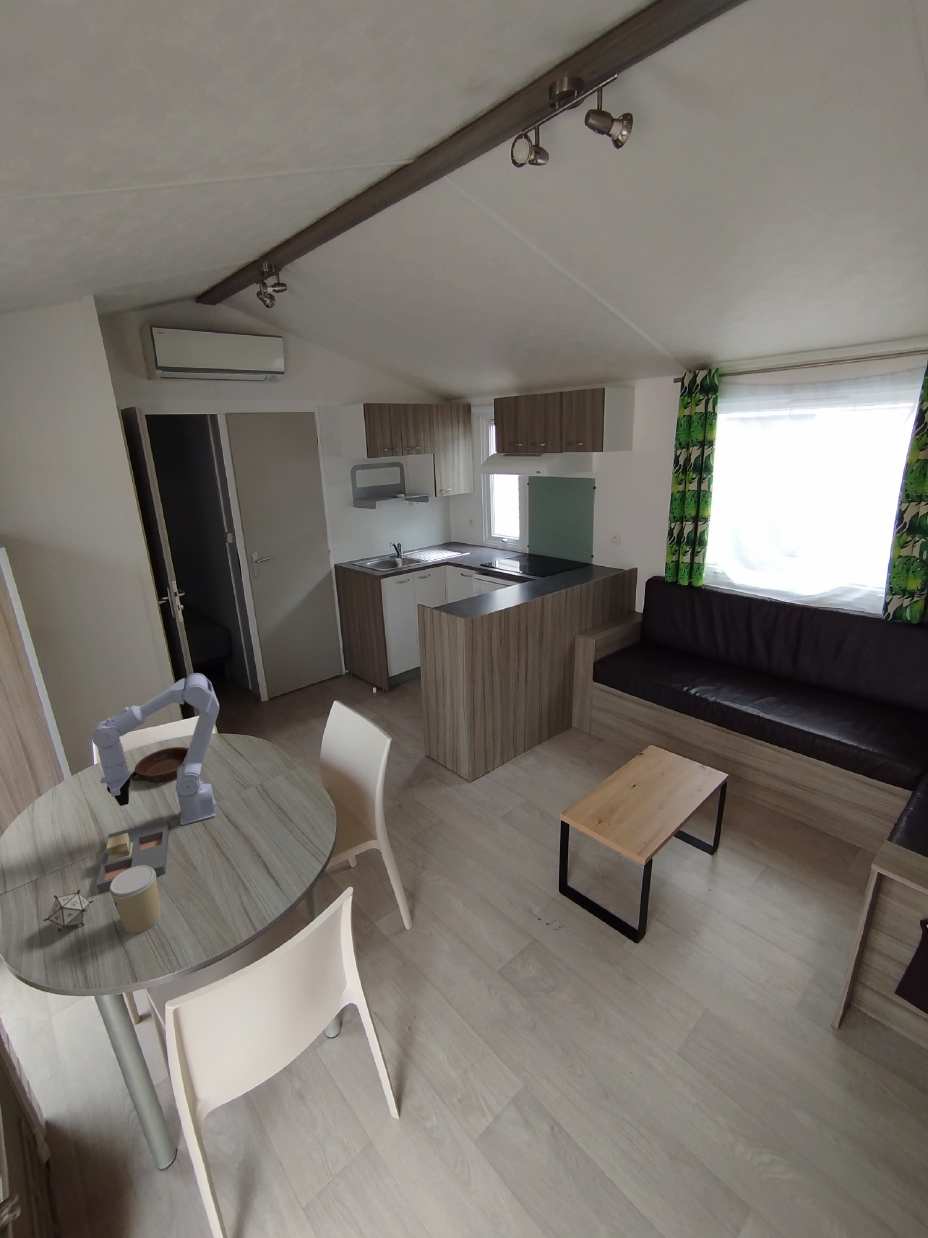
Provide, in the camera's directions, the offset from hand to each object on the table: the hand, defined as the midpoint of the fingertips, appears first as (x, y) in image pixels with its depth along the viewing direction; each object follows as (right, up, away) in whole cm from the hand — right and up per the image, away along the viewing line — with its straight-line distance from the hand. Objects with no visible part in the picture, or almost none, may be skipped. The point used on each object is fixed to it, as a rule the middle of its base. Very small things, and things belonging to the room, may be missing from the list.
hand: (124, 804), depth 160 cm
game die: (+5, -19, -28) cm, 35 cm away
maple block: (+5, -10, -9) cm, 15 cm away
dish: (-5, 0, +32) cm, 33 cm away
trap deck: (+8, -12, -7) cm, 16 cm away
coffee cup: (+21, -18, -28) cm, 40 cm away
